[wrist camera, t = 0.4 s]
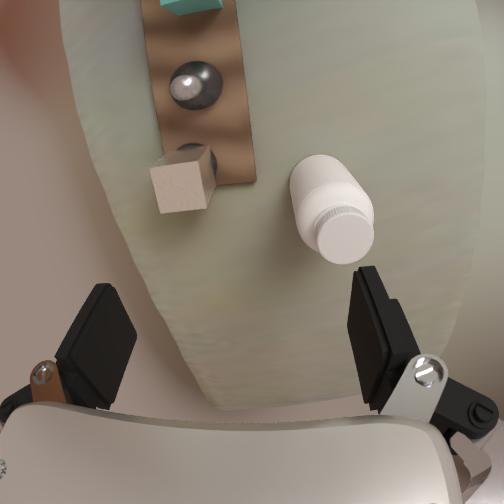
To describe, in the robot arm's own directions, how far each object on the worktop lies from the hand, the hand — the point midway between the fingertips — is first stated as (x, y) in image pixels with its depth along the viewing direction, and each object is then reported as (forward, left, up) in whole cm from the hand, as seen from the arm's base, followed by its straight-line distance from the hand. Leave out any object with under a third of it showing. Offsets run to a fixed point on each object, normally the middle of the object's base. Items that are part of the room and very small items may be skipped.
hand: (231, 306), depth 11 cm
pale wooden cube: (+2, -8, -29) cm, 30 cm away
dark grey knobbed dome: (-8, -6, -29) cm, 30 cm away
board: (-10, -6, -29) cm, 31 cm away
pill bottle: (+6, +8, -29) cm, 31 cm away
